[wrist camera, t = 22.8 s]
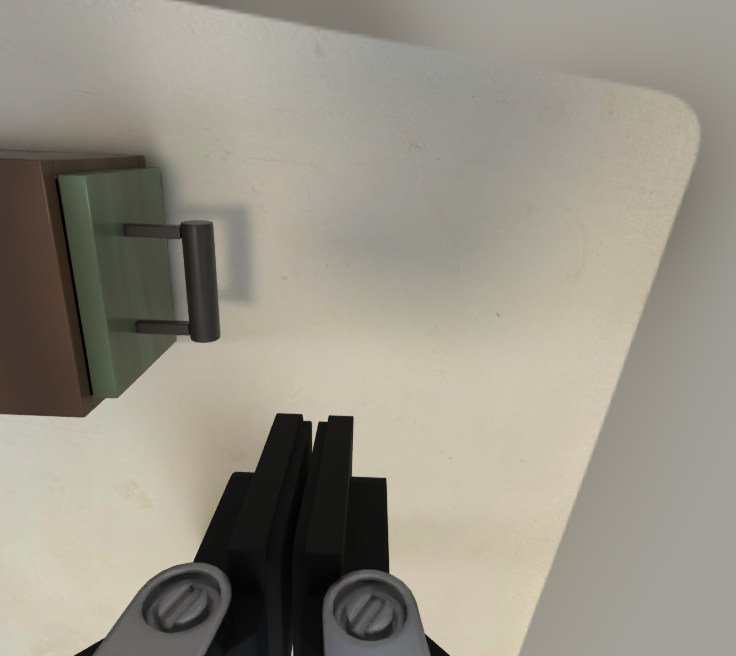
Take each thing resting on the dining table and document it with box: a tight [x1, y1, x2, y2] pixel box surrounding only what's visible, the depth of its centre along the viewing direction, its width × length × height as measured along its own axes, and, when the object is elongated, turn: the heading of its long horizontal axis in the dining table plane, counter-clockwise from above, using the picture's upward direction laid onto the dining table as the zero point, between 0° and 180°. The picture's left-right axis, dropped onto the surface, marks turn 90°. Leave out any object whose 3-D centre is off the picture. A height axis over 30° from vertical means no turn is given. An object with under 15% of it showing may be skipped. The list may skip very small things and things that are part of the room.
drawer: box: [55, 167, 220, 398], centre depth 26 cm, size 19×10×8 cm, turn 88°
